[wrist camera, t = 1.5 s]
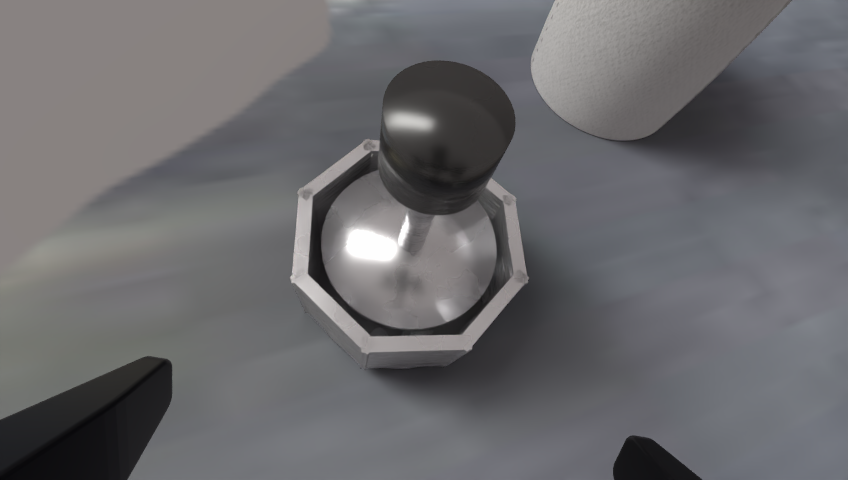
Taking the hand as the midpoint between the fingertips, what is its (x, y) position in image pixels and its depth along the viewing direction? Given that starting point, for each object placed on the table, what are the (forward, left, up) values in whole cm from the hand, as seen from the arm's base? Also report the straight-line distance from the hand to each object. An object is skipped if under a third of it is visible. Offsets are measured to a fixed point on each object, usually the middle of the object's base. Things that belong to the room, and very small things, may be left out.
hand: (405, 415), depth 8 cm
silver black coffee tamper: (+7, +4, -9) cm, 12 cm away
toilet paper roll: (+30, +2, -14) cm, 33 cm away
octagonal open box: (+8, +5, -14) cm, 16 cm away
